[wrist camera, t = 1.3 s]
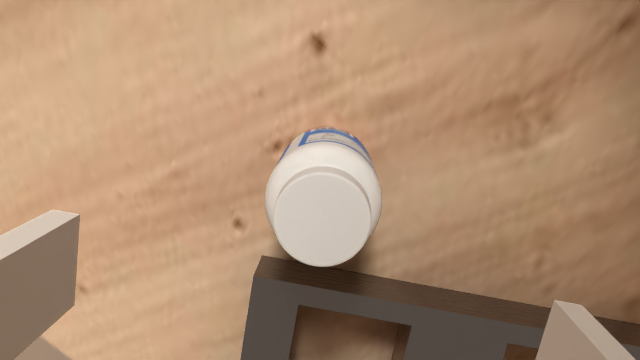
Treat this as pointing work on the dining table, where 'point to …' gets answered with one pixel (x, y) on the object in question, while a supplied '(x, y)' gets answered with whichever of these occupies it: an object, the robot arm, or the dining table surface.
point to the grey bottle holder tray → (397, 314)
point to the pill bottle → (323, 197)
